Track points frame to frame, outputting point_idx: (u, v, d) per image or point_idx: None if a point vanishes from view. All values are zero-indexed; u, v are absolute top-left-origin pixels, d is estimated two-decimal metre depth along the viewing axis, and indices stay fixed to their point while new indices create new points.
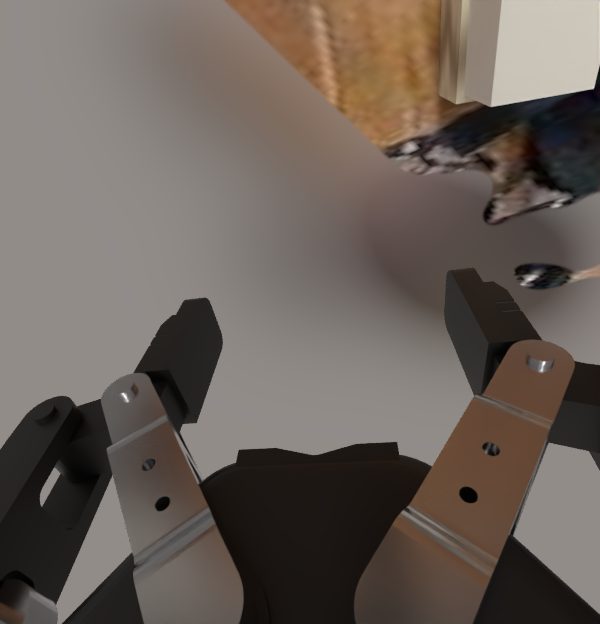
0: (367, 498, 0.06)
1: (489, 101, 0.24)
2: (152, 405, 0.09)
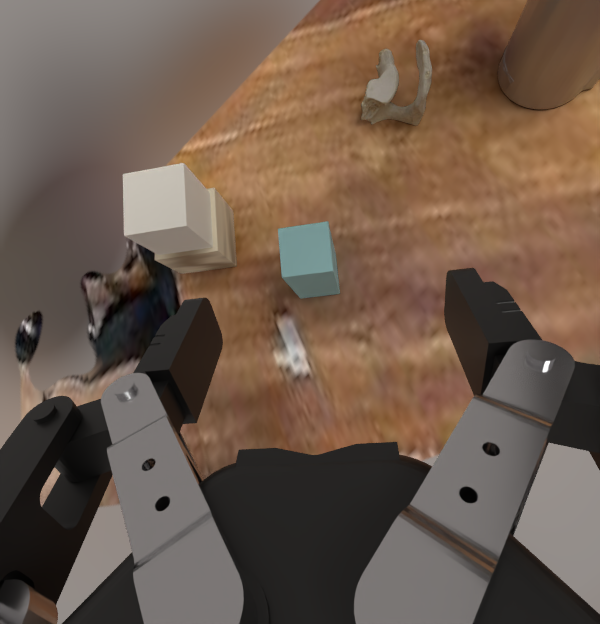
0: (367, 498, 0.06)
1: None
2: (152, 405, 0.09)
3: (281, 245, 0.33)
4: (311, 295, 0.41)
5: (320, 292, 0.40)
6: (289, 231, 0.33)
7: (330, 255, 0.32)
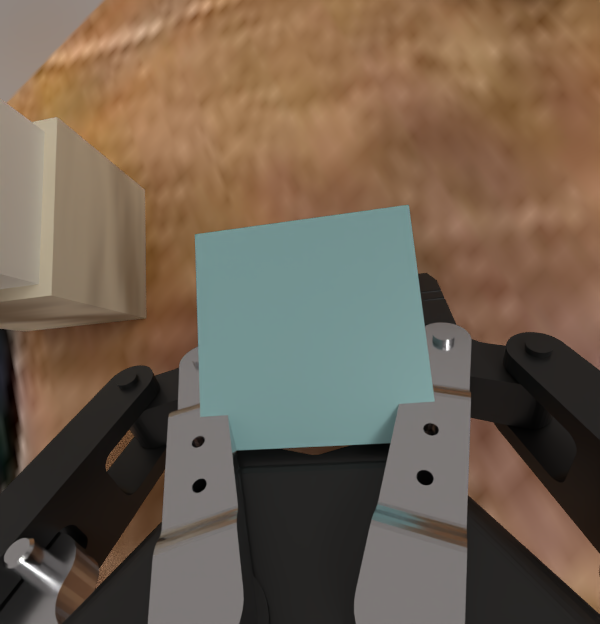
0: (367, 498, 0.06)
1: None
2: None
3: (205, 306, 0.08)
4: None
5: None
6: (240, 247, 0.08)
7: (424, 362, 0.07)
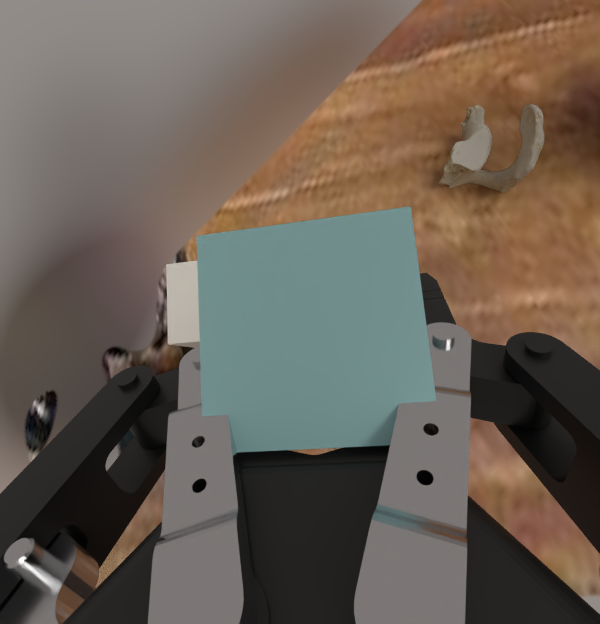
0: (367, 498, 0.06)
1: None
2: None
3: (207, 307, 0.08)
4: None
5: None
6: (242, 248, 0.08)
7: (426, 364, 0.07)
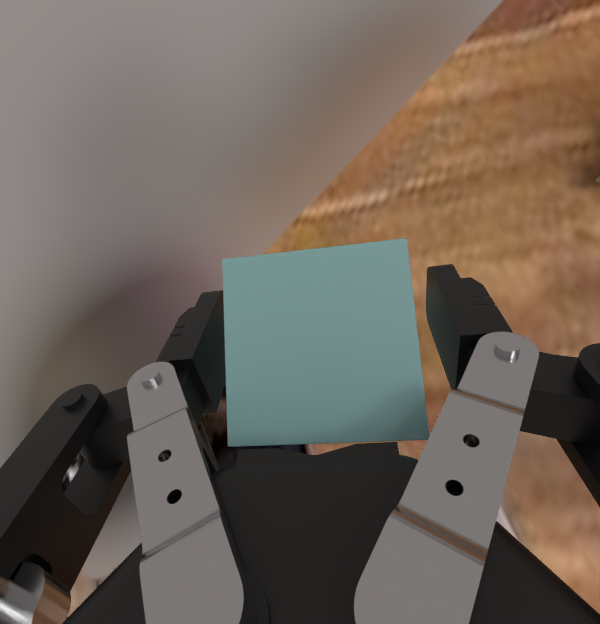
0: (367, 498, 0.06)
1: None
2: (178, 392, 0.09)
3: (231, 321, 0.09)
4: None
5: None
6: (261, 271, 0.09)
7: (418, 373, 0.08)
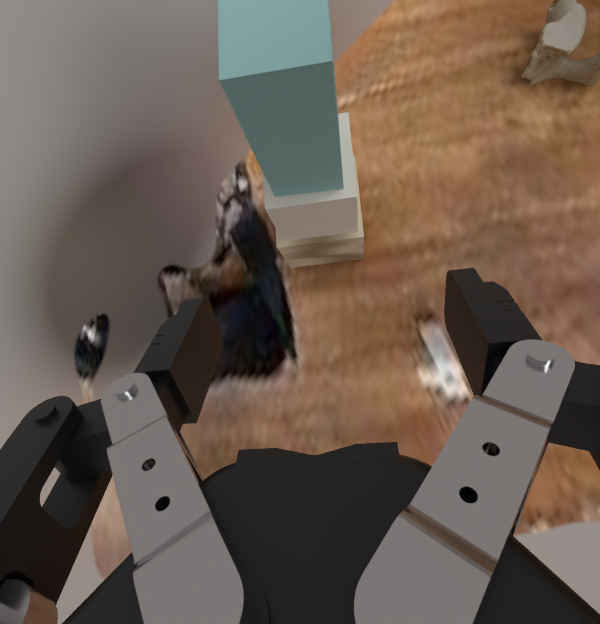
0: (367, 498, 0.06)
1: None
2: (152, 405, 0.09)
3: (222, 16, 0.15)
4: (293, 187, 0.24)
5: (308, 176, 0.22)
6: None
7: (328, 29, 0.14)
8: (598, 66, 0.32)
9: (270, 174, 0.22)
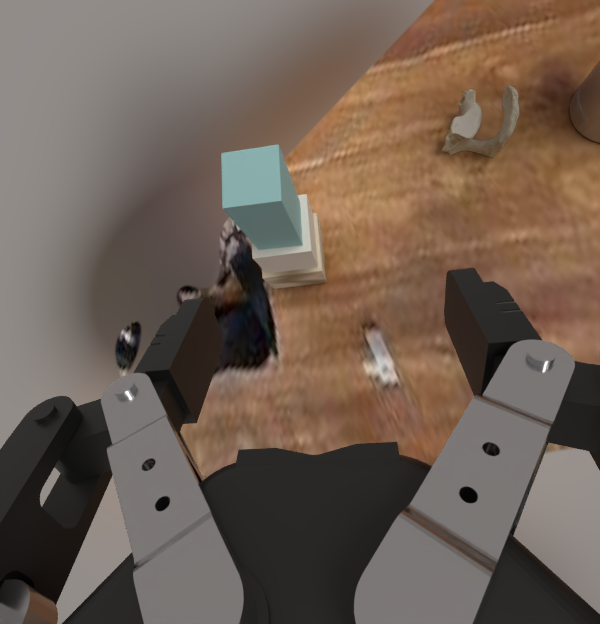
0: (367, 498, 0.06)
1: None
2: (152, 405, 0.09)
3: (224, 172, 0.29)
4: (270, 245, 0.37)
5: (278, 240, 0.36)
6: (234, 156, 0.29)
7: (279, 183, 0.28)
8: (492, 147, 0.45)
9: (254, 240, 0.35)
